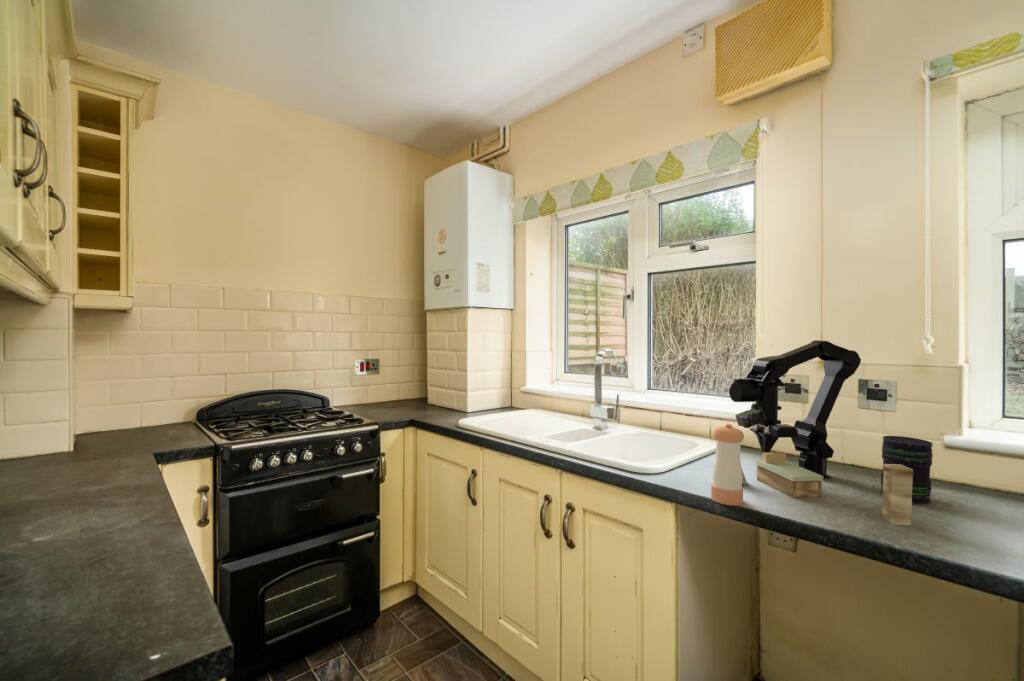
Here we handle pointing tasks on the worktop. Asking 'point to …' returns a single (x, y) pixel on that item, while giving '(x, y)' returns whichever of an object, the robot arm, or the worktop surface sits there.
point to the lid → (786, 468)
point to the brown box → (897, 494)
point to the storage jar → (910, 463)
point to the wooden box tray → (789, 484)
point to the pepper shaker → (727, 466)
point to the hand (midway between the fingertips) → (765, 454)
